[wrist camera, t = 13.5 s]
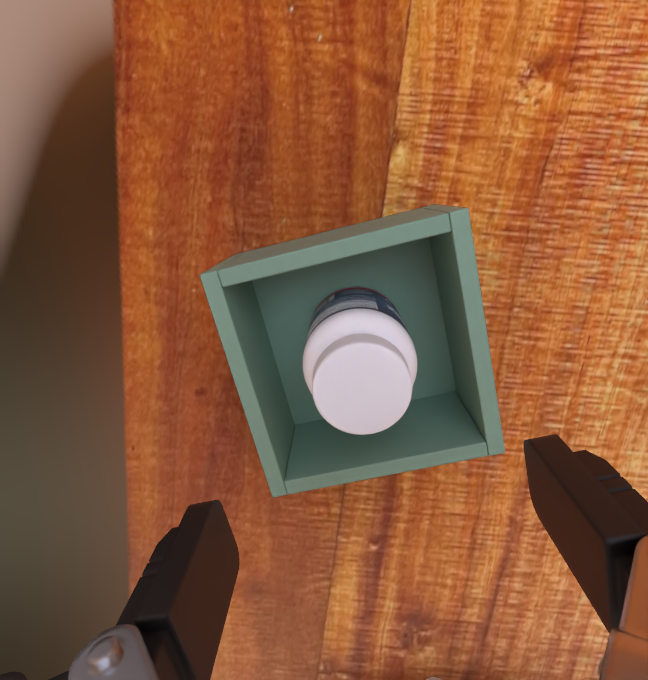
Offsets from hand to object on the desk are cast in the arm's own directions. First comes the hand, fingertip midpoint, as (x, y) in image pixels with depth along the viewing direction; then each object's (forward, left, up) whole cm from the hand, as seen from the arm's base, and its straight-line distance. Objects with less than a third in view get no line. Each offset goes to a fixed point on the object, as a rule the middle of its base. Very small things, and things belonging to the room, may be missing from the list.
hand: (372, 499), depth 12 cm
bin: (0, 0, -16) cm, 16 cm away
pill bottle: (0, 0, -16) cm, 16 cm away
